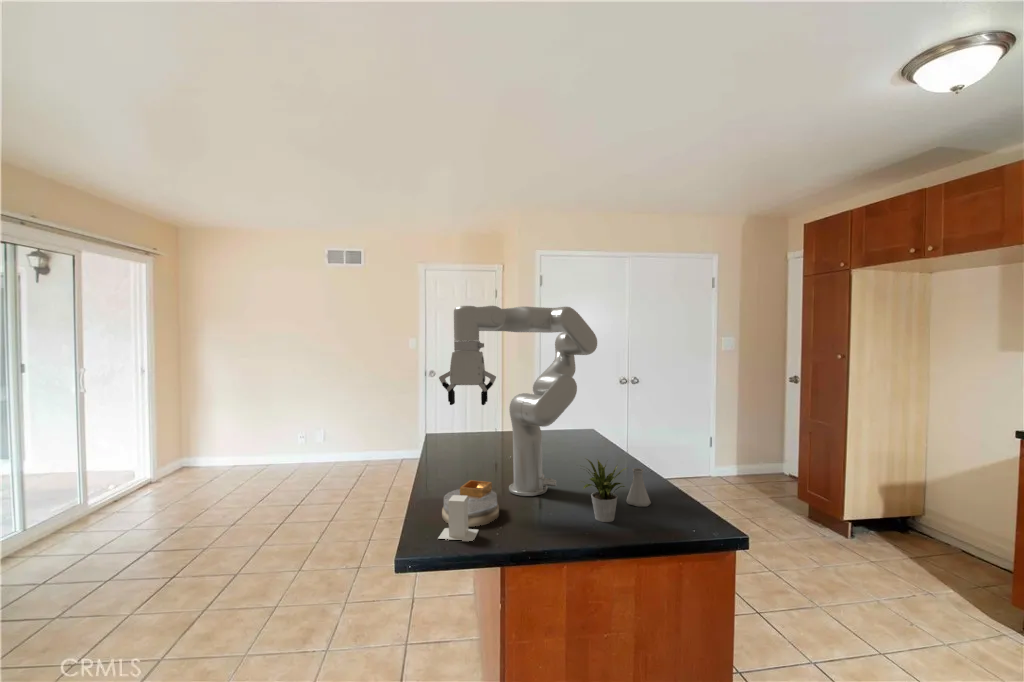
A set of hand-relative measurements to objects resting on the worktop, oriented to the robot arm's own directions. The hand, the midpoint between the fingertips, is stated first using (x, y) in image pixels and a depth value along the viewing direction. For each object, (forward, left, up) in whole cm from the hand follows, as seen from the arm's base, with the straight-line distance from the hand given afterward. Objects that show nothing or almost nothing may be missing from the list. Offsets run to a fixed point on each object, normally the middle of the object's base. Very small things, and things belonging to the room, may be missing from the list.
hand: (467, 404), depth 131 cm
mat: (-2, +20, -30) cm, 36 cm away
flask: (-50, -7, -31) cm, 59 cm away
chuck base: (-2, +7, -30) cm, 31 cm away
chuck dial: (-2, +7, -28) cm, 29 cm away
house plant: (-38, +5, -31) cm, 49 cm away
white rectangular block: (-2, +20, -30) cm, 36 cm away
